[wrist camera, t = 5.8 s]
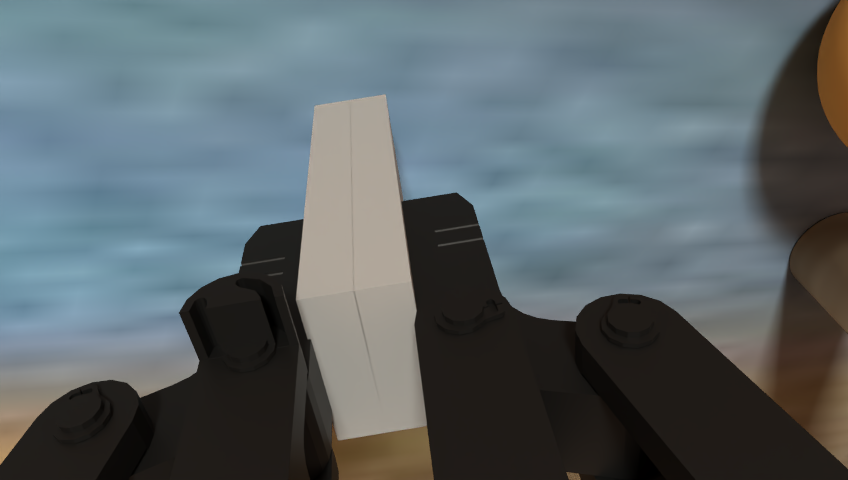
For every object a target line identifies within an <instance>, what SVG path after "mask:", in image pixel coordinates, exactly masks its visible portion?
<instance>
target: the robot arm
mask: <svg viewBox="0 0 848 480" xmlns="http://www.w3.org/2000/svg"><path fill="white" fill-rule="evenodd" d="M241 264H242V266H240V270H239V273H237V274H234V275H230V276H226V277H223V278H219V279H217V280H215V281H213V282H211V283H209V284H207V285H205V286H203V287H201V288H200V289H199V290H198V291H197V292H195V293H194V294H193V295H192V296H191V297H189V298H188V299H187V300H186V302H185V304H184V305H183V307H182V309H181V310H180V312H179V314H180V316H181V318H182V321H183V323H184V325H185V328H186V330H187V332H188V335H189V337H190V339H191V342H192V344H193V346H194V349H195V351H196V353H197V356H198V358H199V360H200V361H199V365H198V369H197V372H196V373H195V374H193V375H192V376H190V377H189V378H187V379H184V380H182V381H180V382H178V383H176V384H174V385H172V386H169V387H167V388H164V389H162V390H159V391H157V392H154V393H151V394H149V395H146V396H144V397H141V398H140V397H139V395H138V394H137V392H136V391H135V390H134V389H133V388H132V387H131V386H130V385H129V384H127V383H124V382H119V381H114V380H107V381H100V382H92V383H90V384H87V385H84V386H82V387H79V388H77V389H74V390H71V391H70V392H68V393H67V394H65V395H63V396H62V397H60V398H59V399H57V400H56V401H54V402H53V403H51V404H50V405H49V406H48V407H47V408H46V409H45V410H44V411H43V412H42V413H41V414H40V415H39V416H38V417H37V418H36V420H35V421H34V422H33V423H32V425H31V426H30V427H29V429H28V430H27V431H26V432H25V434H24V435H23V436H22V438H21V439H20V440H19V442H18V443H17V444H16V445H15V447H14V448H13V449H12V451H11V452H10V453H9V455H8V456H7V457H6V458H5V460H4V461H3V462H2V464H1V465H0V480H338V479H339V471H338V467H337V463H336V459H335V456H334V452H333V449H332V422H333V426H334V429H335V433H336V436H337V439H338V441H339V440H345V439H351V438H357V437H363V436H369V435H375V434H381V433H387V432H393V431H399V430H405V429H411V428H417V427H424V426H427V429H428V436H429V444H430V452H431V460H432V467H433V475H434V480H569V479H568V476H567V473H566V472H572V473H579V475H580V478H581V480H848V469H847V468H846V467H845V466H844V465H843V464H842V463H841V462H840V461H839V460H837V459H836V458H835V457H834V456H833V455H832V454H831V453H830V452H829V451H828V450H827V449H825V448H824V447H823V446H822V445H821V444H820V443H819V442H818V441H817V440H816V439H815V438H813V437H812V436H811V435H810V434H809V433H808V432H807V431H806V430H805V429H804V428H803V427H802V426H800V425H799V424H798V423H797V422H796V421H795V420H794V419H793V418H792V417H791V416H790V415H788V414H787V413H786V412H785V411H784V410H783V409H782V408H781V407H780V406H779V405H778V404H776V403H775V402H774V401H773V400H772V399H771V398H770V397H769V396H768V395H767V394H766V393H764V392H763V391H762V390H761V389H760V388H759V387H758V386H757V385H756V384H755V383H754V382H752V381H751V380H750V379H749V378H748V377H747V376H746V375H745V374H744V373H743V372H742V371H740V370H739V369H738V368H737V367H736V366H735V365H734V364H733V363H732V362H731V361H730V360H729V359H727V358H726V357H725V356H724V355H723V354H722V353H721V352H720V351H719V350H718V349H717V348H715V347H714V346H713V345H712V344H711V343H710V342H709V341H708V340H707V339H706V338H705V337H703V336H702V335H701V334H700V333H699V332H698V331H697V330H696V329H695V328H694V327H693V326H691V325H690V324H689V323H688V322H687V321H686V320H685V319H684V318H683V317H682V316H681V315H679V314H678V313H677V312H676V311H675V310H673V309H672V308H670V307H669V306H667V305H666V304H664V303H662V302H661V301H659V300H656V299H652V298H649V297H646V296H642V295H634V294H616V295H610V296H605V297H601V298H599V299H597V300H595V301H593V302H591V303H589V304H587V305H586V306H585V307H584V308H583V309H582V311H581V312H580V313H579V315H578V316H577V319H576V322H572V321H557V320H548V319H541V318H536V317H533V316H530V315H527V314H524V313H522V312H520V311H518V310H517V309H515V308H513V307H512V306H511V305H510V304H509V302H508V301H507V299H506V298H505V297H503V296H502V294H501V292H500V290H499V286H498V283H497V280H496V277H495V274H494V271H493V267H492V264H491V261H490V258H489V255H488V252H487V248H486V245H485V242H484V240H483V236H482V233H481V229H480V226H479V224H478V220H477V217H476V214H475V210H474V207H473V205H472V204H471V203H469V202H468V201H467V200H466V199H464V198H463V197H462V196H460V195H459V194H458V193H451V194H444V195H438V196H432V197H426V198H420V199H413V200H407V201H403V196H402V190H401V184H400V178H399V172H398V166H397V160H396V154H395V148H394V142H393V136H392V130H391V124H390V118H389V112H388V106H387V100H386V94H385V95H379V96H373V97H367V98H360V99H354V100H348V101H341V102H335V103H329V104H323V105H316V106H315V108H314V118H313V129H312V139H311V149H310V160H309V170H308V180H307V191H306V201H305V211H304V219H302V220H296V221H290V222H283V223H277V224H271V225H265V226H260V227H259V229H258V230H257V231H256V232H255V233H254V234H253V236H252V237H251V238H250V239H249V240H248V242H247V243H246V244H245V248H244V252H243V257H242V261H241Z"/></svg>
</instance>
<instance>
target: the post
mask: <svg viewBox="0 0 848 480" xmlns="http://www.w3.org/2000/svg"><path fill="white" fill-rule="evenodd" d="M790 270H791V272H792V274H793V276H794V277H795V278H796V279H797V280H798V281H799V282H800V284H801V285H802V286H803V287H804V288H805V289H806V290H807V291H808V292H809V293H810V294H811V295H812V296H813V297H814V298H815V299H816V301H817V302H818V303H819V304H820V305H821V306H822V307H823V308H824V309H825V310H826V311H827V312H828V313H829V314H830V315H831V316H832V318H833V319H834V320H835V321H836V322H837V323H838V324H839V325H840V326H841V327H842V328H843V329H844V330H845V331H846V332H847V333H848V212H847V213H840V214H836V215H833V216H830V217H828V218H826V219H824V220H822V221H820V222H818V223H817V224H815V225H814V226H812V227H811V228H810V229H809V230H807V231H806V232H805V233H804V234H803V235H802V236H801V238H800V239H799V240H798V242H797V243H796V245H795V246H794V248H793V250H792V253H791V256H790Z"/></svg>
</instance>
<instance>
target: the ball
mask: <svg viewBox="0 0 848 480" xmlns="http://www.w3.org/2000/svg"><path fill="white" fill-rule="evenodd" d="M817 82H818V91H819V96H820V100H821V104H822V107H823V110H824V112H825V115H826V117H827V119H828V121H829V123H830V125H831V127H832V128H833V130H834V131H835V133H836V134H837V136H838V137H839V138H840V139H841V141H842V142H843V143H844V144H845V145H846V146H847V147H848V0H841V1H840V2H839V4H838V5H837V7H836V9H835V10H834V12H833V14H832V16H831V18H830V20H829V23H828V25H827V27H826V30H825V32H824V35H823V38H822V42H821V45H820V49H819V55H818V62H817Z"/></svg>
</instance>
